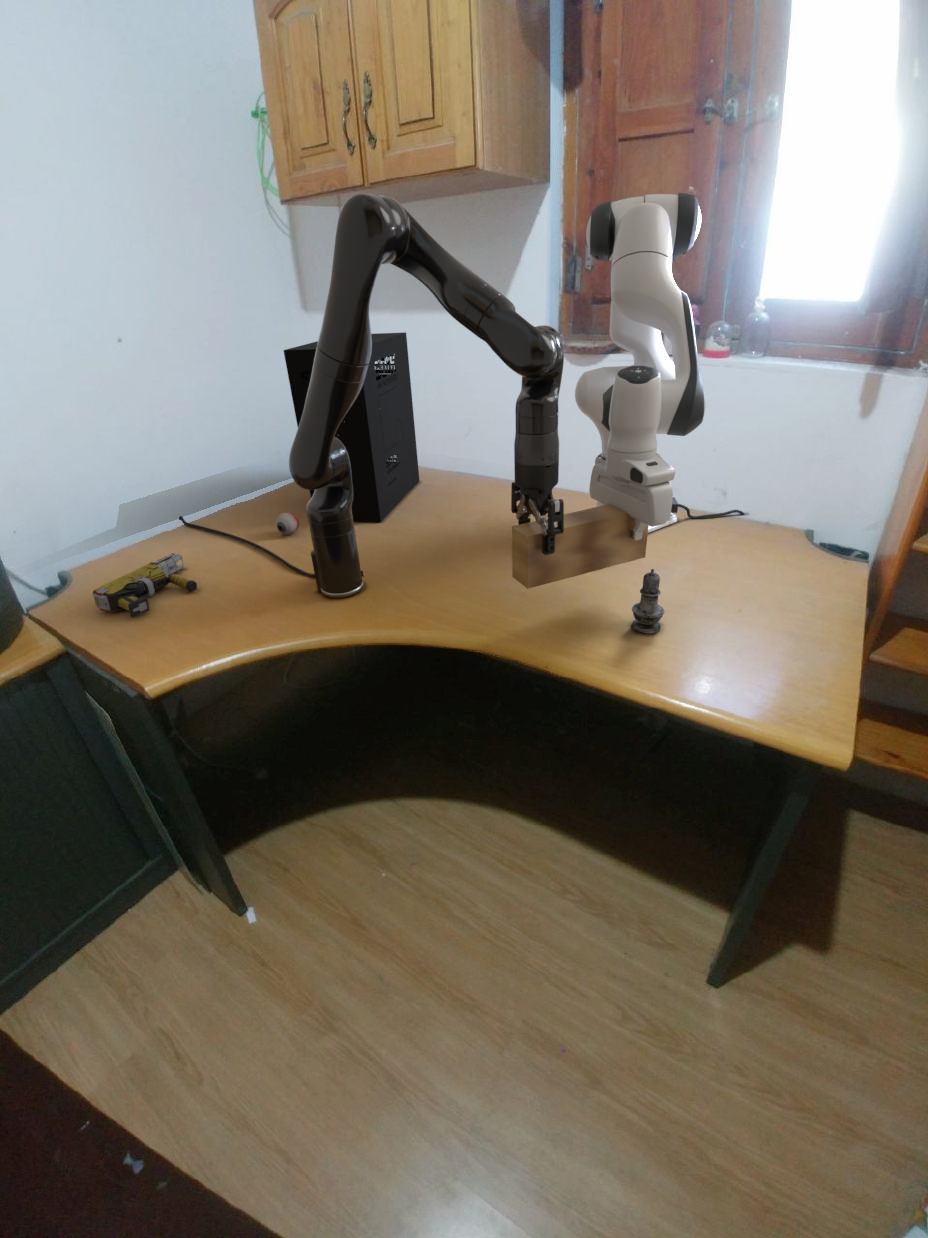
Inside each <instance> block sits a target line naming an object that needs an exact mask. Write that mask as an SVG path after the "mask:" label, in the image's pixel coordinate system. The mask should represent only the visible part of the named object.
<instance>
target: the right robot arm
mask: <svg viewBox="0 0 928 1238" xmlns="http://www.w3.org/2000/svg"><path fill="white" fill-rule="evenodd" d="M700 208H701V207H700V205H699V200H698V199H697V197H696V195H694V194H691V193H685V192H678V193H677V194H673V193H672V194H671V193H649V194H644V195H641V196H633V197H628V198H623V199H619V200H616V201H612V200H611V199H610V200H607V201H604V202H601V203H599V204H597V205H596V206H595V207H594V208H593V209H592V211H591V214H590V216H589V219H588V221H587V224H586V231H585V238H586V239H585V241H586V245H587V248H588V250H589V255H590V256H591V257H592V258H593V259H594V260H595V261H599V262H603V263H604V262H605V263H608V262H609V261H611V266H610V296H611V298H610V299H611V300H610V313H609V314H610V315H609V332H608V333H609V336H610V337H609V338H610V339H611V341H612V343H614V344H615V345H616V346H618V347H619V348H621V349H623V350H624V351H627V352H629V353H631V354H632V357H633V364H631V365H619V366H603V367H598V368H595V369H590V370H587V371H584V372H583V373H582V374H581V376H580V377H579V378H578V379H577V383H576V385H575V390H574V400H575V403H576V405H577V407H578V409H579V410H580V412H582V414H583V415H585V416H586V417H588V418H589V419H590V420H591V421H592V422H593V424H594V426H595V427H596V429H597V431H598V434H599V436H600V437H599V438H600V443H601V452H600V453H599V454H598V455H597V456H596V457H595V458H594V459H595V461H594V465H593V467H592V470H591V473H590V474H591V475H590V481H589V490H588V491H589V494H590V495H589V496H590V498H591V499H593V500H595V501H597V502H596V507H599V506H604V505H608V504H610V505H612V506H615V507H617V508H619V509H621V510H623V511H625V512H627V513H628V514H629V516H631V517H633V518H635V524H637V525H636V527H635V529H632V530H631V533H630V534H631V535H630V537H631V538H632V539H634V540H640V539H642V535H643V530H644V529H645V528H646V526H647V525H649V526H648V534H650V533H652V532H654V531H657V530H660V529H662V528H665V527H668V526H670V525H672V524H675V523H677V522H678V516H677V515H676V514H677V513H678V510H679V508H681V509H683V510H685V511H686V515H687V517H688V518H689V519H692V520H699V519H705V518H713V517H715V518H716V517H722V516H728V515H730V514H735V513H737V514H739V515H741V516H745V514H746V513H744V511H742V510H740V509H731V510H729V511H725V512H717V513H711V514H702V515H692V514H691V511H690V508H688V506H686V505H683V504H681V503H679V502H678V501H677V499H676V497H675V496H674V489H673V486H672V483H671V481H674V479H675V475H676V470H675V468H674V467H673V466H671V465H670V464H669V463H668V462H667V461H666V460H665V459H664V458H663V457H662V455H660V453H658V452H657V451H658V442H657V435H667V436H678V437H686V436H687V435H689V434H691V433H692V432H693V431H695V430H696V429H697V428H698V427H700V426H701V424H702V423H703V421H704V418H705V417H704V416H705V413H706V408H707V407H706V406H707V402H706V394H705V392H704V391H705V390H704V387H703V386H704V385H703V381H702V376H701V370H700V364H699V363H700V362H699V356H698V355H699V354H698V348H697V346H698V345H697V338H696V331H695V324H694V317H693V311H692V305H691V301H690V299H689V296H688V294H687V292H684V291H683V290H681V289H680V288H679V287H678V285H677V283H676V282H675V279H674V277H673V272H672V271H673V270H672V267H673V265H672V264H673V263H675V262H676V259H677V258H679V257H681V256H683V255H685V254H686V253H687V252H688V251H690V250H691V248H693V246H694V245H695V242H696V239H697V237H698V235H699V233H700V229H701V225H702V213H701V209H700ZM662 334H664V335H665V336H666V337H667V338H668V340H669V342H670V346H671V353H672V359H671V358H670V356H669V354H668V352H667V351H666V348H665V346H664V343H663V339H662V338H663V337H662ZM739 510H740V511H739Z"/></svg>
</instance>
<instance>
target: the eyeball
mask: <svg viewBox="0 0 928 1238" xmlns="http://www.w3.org/2000/svg"><path fill="white" fill-rule="evenodd" d="M299 525H300V522H299V519H298V517H297V516H296V515H295V514H294V513H292V512H287V511H286V512H282V513H280V514H279V515H278V516H277V517H276V520H275V527H276V529H277V530H278V531H279V532H280V533H281V534H282V535H285V536H286V535H287V536H289V535H293V534H295V533H296V532H297V531H298V529H299Z"/></svg>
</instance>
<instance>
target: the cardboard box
mask: <svg viewBox="0 0 928 1238" xmlns="http://www.w3.org/2000/svg"><path fill="white" fill-rule="evenodd" d="M371 337H372V351H371V357H370V362H369V366H368V369H367V373H366V377H365V380H364V383H363V386H362V388H361V391H360V393H359V394H358V396H357V398H356V400H355V401H354V403H353V405H352V406H351V408H350V409H349V411H348V412H347V414H346V415H345V417H344V418H343V420H342V422H341V423H340V425H339V427H338V429H337V431H336V434H335V437H337V438H338V439H339V440H340V441H341V442H342V443H343V444H344V446H345V448H346V450H347V452H348V455H349V459H350V465H351V474H352V484H353V502H352V515H353V522H369V523H371V522H373V523H381V522H383V521H384V519H385V518H386V517H387V516H388V515H389V514H390V513H391V512H392V511H393V510H394V509H395V508H396V507H397V506H398V505H399V504H400V502H401V501H403V499H405V497H406V496H407V495H408V494H409V493H410V492H411V491H412V490H413V489H414V488H415V486H417V484H418V483H419V482H420V471H419V462H418V461H419V460H418V449H417V438H416V437H417V435H416V429H415V428H416V427H415V425H416V424H415V415H414V405H413V393H412V392H413V391H412V383H411V372H410V360H409V359H410V358H409V349H408V348H409V347H408V339H407V337H408V336H407V332H383V333H382V332H381V333H371ZM317 343H318V340H317V341H314V342H313V341H312V342H310V343H305V344H301V345H298V346H294V347H290V348H285V349H283V355H284V360H285V366H286V371H287V377H288V383H289V387H290V388H289V389H290V394H291V398H292V403H293V409H294V414H295V420H296V424H297V425H296V426H297V428H298V427H299V424H300V421H301V418H302V414H303V410H304V406H305V401H306V396H307V392H308V388H309V383H310V379H311V374H312V368H313V362H314V358H315V353H316V348H317ZM376 362H377V363H376ZM308 491H309V495H310V499H311V498H312V496H313V494H314V491H315V490H308Z"/></svg>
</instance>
